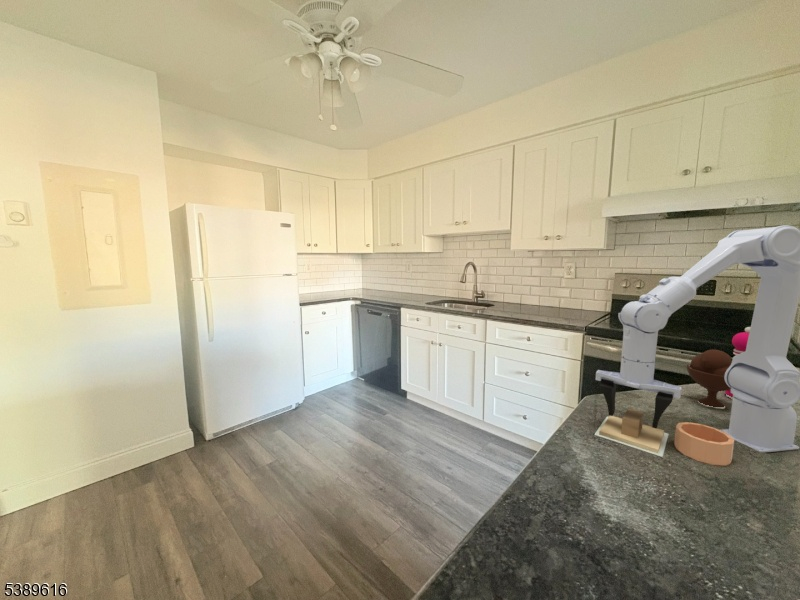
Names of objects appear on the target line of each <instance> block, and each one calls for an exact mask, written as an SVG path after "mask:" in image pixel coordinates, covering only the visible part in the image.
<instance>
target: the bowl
mask: <svg viewBox="0 0 800 600" xmlns="http://www.w3.org/2000/svg"><path fill="white" fill-rule="evenodd" d="M720 430H721V429H719V428H716V427H712V426H708V425H706V424H702V423H696V422H688V421H685V422H678V423H677V424H676V425H675V431H674V433H675V434H674V440H673V441H674V442H673V445H674V447H675V449H676V450H677V451H678V452H680V453H681V454H683V455H684V456H686V457H688V458H690V459H693V460H695V461H697V462H701V463H703V464H707V465H713V466H721V467H722V466H728V465H731V463H732V461H733V455H734V454H733V453H734V446H735V440H734V439H733V438H732V437H731V436H730V435H729V434H727V433H725V432H723V431H720Z"/></svg>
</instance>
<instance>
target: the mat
mask: <svg viewBox="0 0 800 600" xmlns="http://www.w3.org/2000/svg"><path fill="white" fill-rule="evenodd" d="M608 418H609V415H608V416H606V417H605V419H604V420H603V421H602V423H601V425H600V426H599V427H598V429H597V430H596V431H595V433H594V436H597V437H599V438H603V439H606V440H609V441H612V442H615V443H618V444H622V445H625V446H628V447H631V448H634V449H637V450H639V451H643V452H646V453H649V454H652V455H655V456H658V457H662V458H663V456H664V453H665V449H666V445H667V441H668V439H669V435H670V434H669V433H667V432H664V435H663V439H662V442H661V445H660V449H659V452H658V453H655V452H652V451H649V450H645V449H642V448H639V447H636V446H633V445H630V444H627V443H624V442H621V441H618V440H615V439H611V438H608V437H605V436H602V435H599V431H600V429H601V428H602V426H603V425H604V424H605V422H606V421H607V419H608Z"/></svg>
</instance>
